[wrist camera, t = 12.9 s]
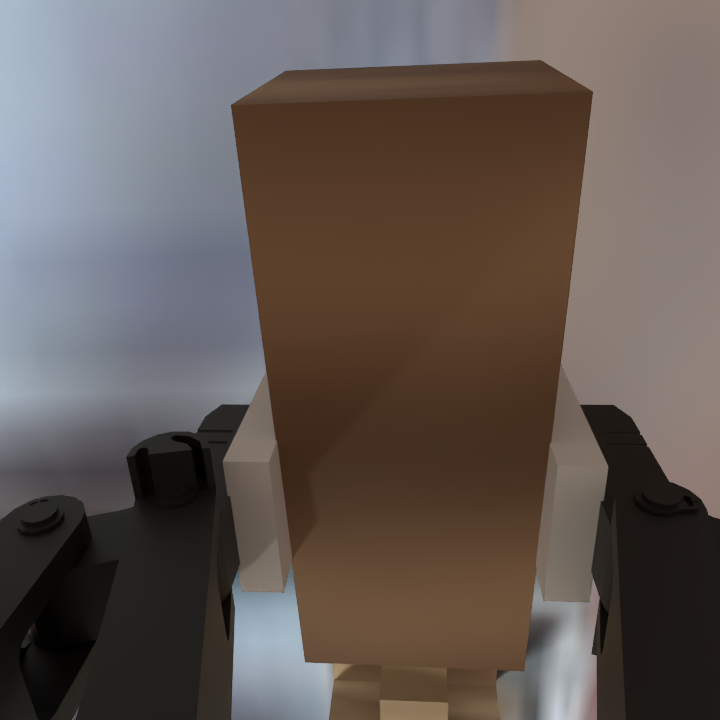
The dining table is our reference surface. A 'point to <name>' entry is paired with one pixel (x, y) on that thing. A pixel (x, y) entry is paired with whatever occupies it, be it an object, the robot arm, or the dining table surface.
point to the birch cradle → (413, 693)
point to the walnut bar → (414, 343)
